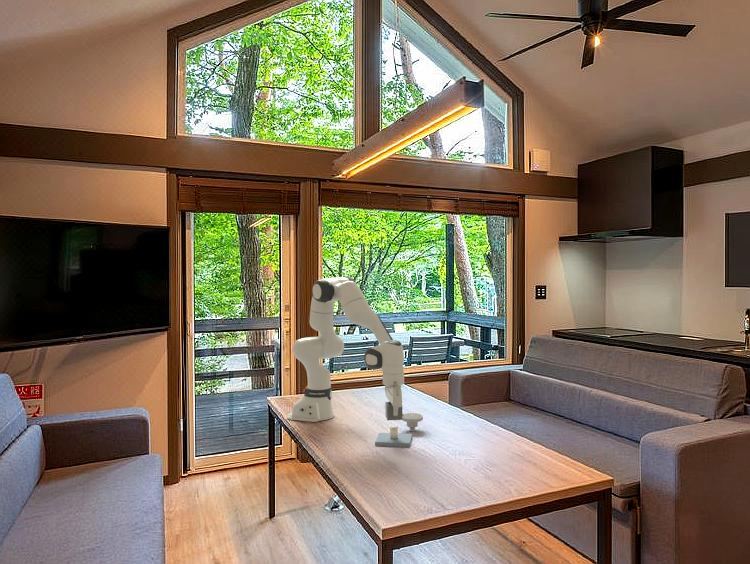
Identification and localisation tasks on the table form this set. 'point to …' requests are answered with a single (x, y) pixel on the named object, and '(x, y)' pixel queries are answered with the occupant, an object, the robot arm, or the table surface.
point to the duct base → (394, 442)
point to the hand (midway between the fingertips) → (393, 412)
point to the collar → (390, 412)
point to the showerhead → (412, 420)
